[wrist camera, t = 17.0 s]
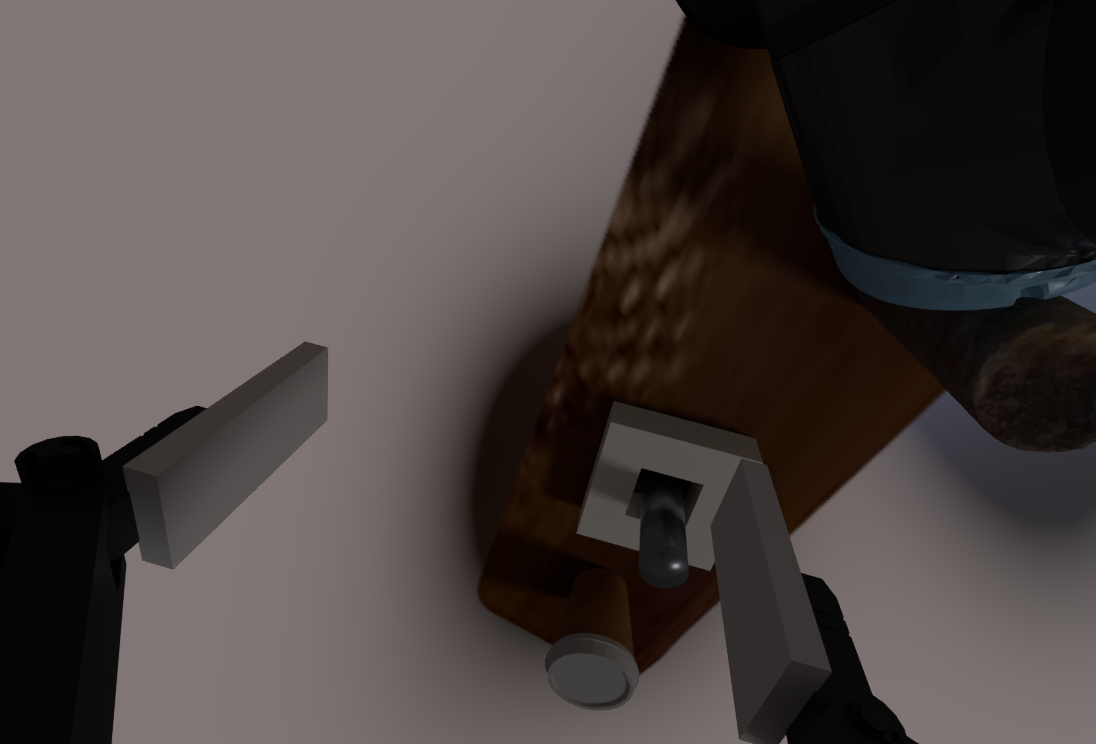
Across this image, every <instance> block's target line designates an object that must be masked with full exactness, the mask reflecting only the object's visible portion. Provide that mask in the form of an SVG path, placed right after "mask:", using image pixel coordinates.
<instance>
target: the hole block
mask: <svg viewBox="0 0 1096 744" xmlns="http://www.w3.org/2000/svg"><path fill="white" fill-rule="evenodd" d="M741 458H742V459H745V460H749V461H753V462H757V463H760V464H762V463H763V462H762V458H761V455H760V452H759V449H758V445H757V442H756V439H755V438H752V437H749V436H745V435H741V434H737V433H733V432H730V431H726V430H722V429H718V428H715V427H711V426H707V425H703V424H699V423H696V422H692V421H688V420H684V419H681V418H677V417H673V416H669V415H665V414H662V413H658V412H654V411H650V410H647V409H643V408H639V407H635V406H632V405H628V404H624V403H620V402H616V401H613V405H612V408H611V411H610V415H609V418H608V421H607V424H606V428H605V431H604V434H603V438H602V441H601V444H600V447H599V451H598V454H597V457H596V461H595V464H594V467H593V470H592V474H591V477H590V480H589V484H588V487H587V490H586V493H585V497H584V500H583V503H582V507H581V511H580V517H579V523H578V528H577V533H578V534H581V535H585V536H588V537H592V538H595V539H599V540H602V541H606V542H610V543H613V544H617V545H620V546H624V547H627V548H631V549H634V550H638V551H639V545H640V514H641V494H640V493H637V492H633V490H634V487H635V485H636V482H637V479H638V476H639V473H640V471H641V468H644V469H647V470H651V471H655V472H658V473H662V474H666V475H670V476H673V477H677V478H681V479H684V480H688V481H692V482H691V484H690V487H689V489H688V492H687V494H686V496H685V499H684V501H683V502H684V515H685V528H686V541H687V554H688V565H691V566H695V567H698V568H702V569H706V570H709V571H710V570H711V568H712V566H713V564H714V562H715V557H714V550H713V542H712V535H711V528H710V525H711V523H712V521H713V519H714V517H715V515H716V512H717V510H718V508H719V506H720V504H721V502H722V499H723V497H724V495H725V493H726V491H727V489H728V486H729V484H730V482H731V480H732V478H733V476H734V473H735V471H736V469H737V467H738V465H739V463H740V461H741Z"/></svg>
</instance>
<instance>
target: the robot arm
mask: <svg viewBox="0 0 1096 744" xmlns="http://www.w3.org/2000/svg"><path fill="white" fill-rule="evenodd" d="M676 2H677V3H678V5H679V6H680V8H681V9H682V11H683V12H684V14H685V15H686V16H687V17H688V18H689V19H690V20H691V22H692V23H693V24H694V25H696V26H697V27H698V28H699V29H700V30H701V31H703V32H704V33H706V34H707V35H709V36H710V37H712V38H714V39H716V40H718V41H720V42H723V43H725V44H728V45H731V46H735V47H740V48H747V49H767V48H768V52H769V55H770V58H771V65H772V68H773V71H774V75H775V78H776V81H777V84H778V88H779V91H780V94H781V97H782V100H783V104H784V107H785V110H786V113H787V116H788V120H789V123H790V126H791V129H792V133H793V136H794V139H795V142H796V145H797V149H798V152H799V155H800V158H801V161H802V165H803V168H804V171H805V174H806V177H807V181H808V184H809V187H810V190H811V194H812V197H813V200H814V215H815V219H816V222H817V224H819V226H820V230H821V231H822V233H823V234H824V235H825V236H826V237H827V239H828V242H829V244H830V247H831V250H832V252H833V255H834V258H835V260H836V263H837V266H838V267H839V269H840V271H841V272H842V274H843V275H844V276H845V277H846V279H847V280H848V281H849V282H850V283H851V284H852V285H854V286H855V287H856V288H858V289H859V290H861V291H862V292H864V293H866V294H868V295H870V296H872V297H874V298H877V299H879V300H882V301H886V302H889V303H893V304H896V305H902V306H907V307H913V308H920V309H930V310H981V309H992V308H999V307H1007V306H1012V305H1013V304H1014V303H1015V301H1016V299H1017V298H1019V297H1034V298H1038V299H1043V300H1045V299H1049V298H1053V297H1057V296H1061V295H1064V294H1067V293H1070V292H1073V291H1076V290H1078V289H1081V288H1083V287H1086V286H1088V285H1090V284H1092V283H1094V282H1096V0H676ZM327 392H328V348H327V347H324V346H320V345H316V344H312V343H309V342H304V343H302V344H301V345H299V346H298V347H296V348H295V349H293V350H292V351H291V352H289V353H288V354H286V355H285V356H283V357H282V358H280V359H279V360H277V361H276V362H274V363H273V364H272V365H270V366H269V367H267V368H266V369H265V370H263V371H261V372H260V373H258V374H257V375H255V376H254V377H252V378H251V379H250V380H248V381H247V382H245V383H244V384H242V385H241V386H239V387H238V388H236V389H235V390H233V391H232V392H231V393H229V394H228V395H226V396H225V397H223V398H222V399H221V400H219V401H217V402H216V403H215V404H213V405H211V406H210V407H209V408H204V407H200V406H195V407H192V408H189V409H186V410H183V411H180V412H177V413H175V414H173V415H172V416H170V417H168V418H167V419H165V420H164V421H162V422H161V423H159V424H158V426H157V427H153V428H151V429H150V430H149V431H147V432H145V433H144V435H143V436H139V437H138V438H136V439H135V440H133V441H131V442H130V443H128V444H127V445H125V446H124V447H122V448H121V449H119V450H118V451H116V452H114V453H113V454H111V455H110V456H108V457H107V458H105V459H104V460H102V459H101V454H100V450H99V447H98V443H97V442H95V441H94V440H92V439H90V438H86V437H81V436H61V437H57V438H51V439H46V440H44V441H41V442H39V443H36V444H33V445H31V446H29V447H28V448H26V449H25V450H23V451H22V452H20V453H19V455H18V456H17V458H16V459H15V460H14V462H15V465H16V467H17V471H18V474H19V477H20V480H21V483H7V482H5V483H4V482H0V744H111V743H112V732H113V720H114V708H115V695H116V683H117V671H118V659H119V647H120V635H121V623H122V610H123V599H124V587H125V574H126V560H125V556H124V554H125V553H126V552H127V551H128V550H130V549H131V548H132V547H133V546H134V545H135V544H137V543H138V542H139V547H140V551H141V556H142V560H143V561H146V562H150V563H153V564H156V565H160V566H163V567H166V568H170V569H174V568H175V567H176V566H177V565H178V564H179V563H180V562H181V561H182V560H184V558H186V557H187V556H188V555H189V554H190V553H191V552H192V551H193V550H194V549H195V548H196V546H198V545H199V544H200V543H201V542H202V541H203V540H204V539H205V538H206V537H207V536H208V535H209V534H210V533H211V532H212V531H213V530H214V529H215V528H216V527H218V526H219V525H220V524H221V523H222V522H223V520H225V519H226V518H227V517H228V516H229V515H230V514H231V513H232V512H233V511H234V510H235V509H236V508H237V507H238V506H239V505H240V504H241V503H242V502H243V501H244V500H245V499H246V498H247V497H248V496H249V495H250V494H252V493H253V491H255V490H256V489H257V487H259V486H260V485H261V484H262V483H263V482H264V481H265V480H266V479H267V478H268V477H269V476H270V475H271V474H272V473H273V472H274V471H275V470H276V469H277V468H278V467H279V466H280V465H281V464H282V463H283V462H284V461H285V460H286V459H287V458H289V457H290V456H291V455H292V454H293V453H294V452H295V451H296V450H297V449H298V448H299V447H300V446H301V445H302V444H303V443H304V442H305V441H306V440H307V439H308V438H309V437H310V436H311V435H312V434H313V433H314V432H315V431H316V430H317V429H318V428H319V427H320V426H322V425H323V424H324V422H326V421H327V397H328V394H327ZM710 528H711V535H712V542H713V550H714V557H715V564H716V572H717V579H718V587H719V594H720V601H721V608H722V616H723V623H724V631H725V638H726V645H727V653H728V660H729V667H730V675H731V682H732V690H733V697H734V704H735V712H736V719H737V727H738V734H739V739H740V740H743V741H746V742H750V743H753V744H779V743H780V742H781V740H782V739H783V738H784V737H785V735H786V736H787V741H788V744H918V743H917V742H915V741H914V740H912V739H911V738H909V737H908V736H906V733H905V729H904V727H903V726H902V724H901V723H900V721H899V720H898V718H897V716H896V715H895V714H894V713H893V712H892V711H891V710H890V709H889V708H888V707H887V706H886V705H885V704H884V703H883V702H882V701H880V700H879V699H878V698H876V697H875V696H873V695H872V692H871V689H870V686H869V684H868V681H867V679H866V676H865V673H864V670H863V668H862V665H861V662H860V660H859V657H858V654H857V651H856V649H855V646H854V643H853V641H852V638H851V637H850V636H849V630H848V627H847V625H846V622H845V621H844V620H843V618H844V617H843V614H842V611H841V608H840V606H839V603H838V600H837V598H836V596H835V595H834V594H833V593H832V591H831V590H830V589H829V587H828V586H827V585H826V583H825V582H824V581H823V579H821V578H817V577H814V576H810V575H807V574H803V573H801V572H800V569H799V566H798V563H797V559H796V556H795V554H794V550H793V547H792V544H791V540H790V537H789V534H788V531H787V528H786V524H785V521H784V518H783V515H782V512H781V509H780V505H779V502H778V499H777V496H776V493H775V490H774V486H773V483H772V480H771V477H770V474H769V470H768V467H767V465H764V464H760V463H757V462H753V461H749V460H745V459H742V458H741V461H740V463H739V465H738V467H737V469H736V471H735V473H734V476H733V478H732V480H731V482H730V484H729V486H728V489H727V491H726V493H725V495H724V497H723V499H722V502H721V504H720V506H719V508H718V510H717V512H716V515H715V517H714V519H713V521H712V523H711V525H710Z"/></svg>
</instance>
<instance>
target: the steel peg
mask: <svg viewBox="0 0 1096 744" xmlns="http://www.w3.org/2000/svg"><path fill="white" fill-rule="evenodd" d="M639 573H640V575H641V577H642V578H643V580H644V581H645V582H647V583H648V584H650V585H652V586H654V587H658V588H665V589H667V588H674V587H677V586H679V585H681V584H682V583H684V582H685V581H686V579H687V578H688V574H689V567H688V554H687V541H686V528H685V515H684V502H683V488H682V479H681V478H677V477H673V476H670V475H666V474H662V473H658V472H655V471H651V470H647V469H644V468H643V470H642V483H641V514H640V545H639Z"/></svg>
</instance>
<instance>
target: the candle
mask: <svg viewBox="0 0 1096 744" xmlns="http://www.w3.org/2000/svg"><path fill="white" fill-rule="evenodd" d="M858 292H859V296H860V298H861V301H862V303H863V304H864V305H865V306H866V308H867V309H868V310H869V311H870V312H871V313H872V314H873V315H874V316H875V318H876V319H877V320H878V321H879V322H880V323H881V324H882V325H883V326H884V327H885V328H886V329H887V330H888V331H889V332H890V333H891V334H892V335H893V336H894V337H895V338H896V339H897V340H898V341H899V342H900V343H901V344H902V345H903V346H904V347H905V348H906V349H907V350H908V351H909V352H910V353H911V354H912V355H913V356H914V357H915V358H916V359H917V360H918V361H919V362H920V363H921V364H922V365H923V366H924V367H925V368H926V369H927V370H928V371H929V372H930V373H931V374H932V375H933V376H934V377H935V378H936V379H937V381H938V382H939V383H940V384H941V385H942V386H943V387H944V388H945V389H946V390H947V391H948V392H949V393H950V394H951V395H952V396H953V397H954V398H955V399H956V400H957V401H958V402H959V403H960V404H961V405H962V406H963V407H964V409H965V410H966V411H967V412H968V413H969V414H970V415H971V416H972V417H973V418H974V419H975V420H976V421H977V422H978V423H979V424H980V426H981V427H982V428H983V429H985V430H986V431H987V432H988V433H990V434H991V435H992V436H993V437H994V438H996V439H998V440H999V441H1001V442H1002V443H1004V444H1006V445H1009V446H1011V447H1014V448H1016V449H1020V450H1025V451H1039V452H1064V451H1069V450H1074V449H1081V448H1085V447H1087V446H1088V445H1090V444H1091V443H1093V442H1095V441H1096V314H1095V313H1093V312H1091V311H1089V310H1088V309H1086V308H1083V307H1082V306H1080V305H1078V304H1076V303H1074V302H1072V301H1070V300H1069V299H1067V298H1064V297H1062V296H1057V297H1053V298H1049V299H1045V300H1043V299H1038V298H1034V297H1019V298H1017V299H1016V301H1015V303H1014V304H1013V305H1012V306H1007V307H999V308H992V309H981V310H930V309H920V308H913V307H907V306H902V305H896V304H893V303H889V302H886V301H882V300H879V299H877V298H874V297H872V296H870V295H868V294H866V293H864V292H862V291H861V290H859V289H858Z"/></svg>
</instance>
